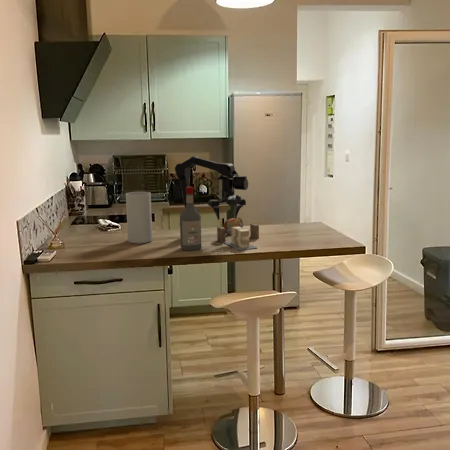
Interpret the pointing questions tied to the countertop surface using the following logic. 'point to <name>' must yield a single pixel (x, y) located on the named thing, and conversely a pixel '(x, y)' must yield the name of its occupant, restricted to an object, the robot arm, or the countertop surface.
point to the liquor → (190, 225)
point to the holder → (253, 232)
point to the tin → (232, 224)
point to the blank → (240, 237)
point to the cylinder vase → (139, 217)
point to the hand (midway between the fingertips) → (226, 219)
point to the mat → (240, 247)
